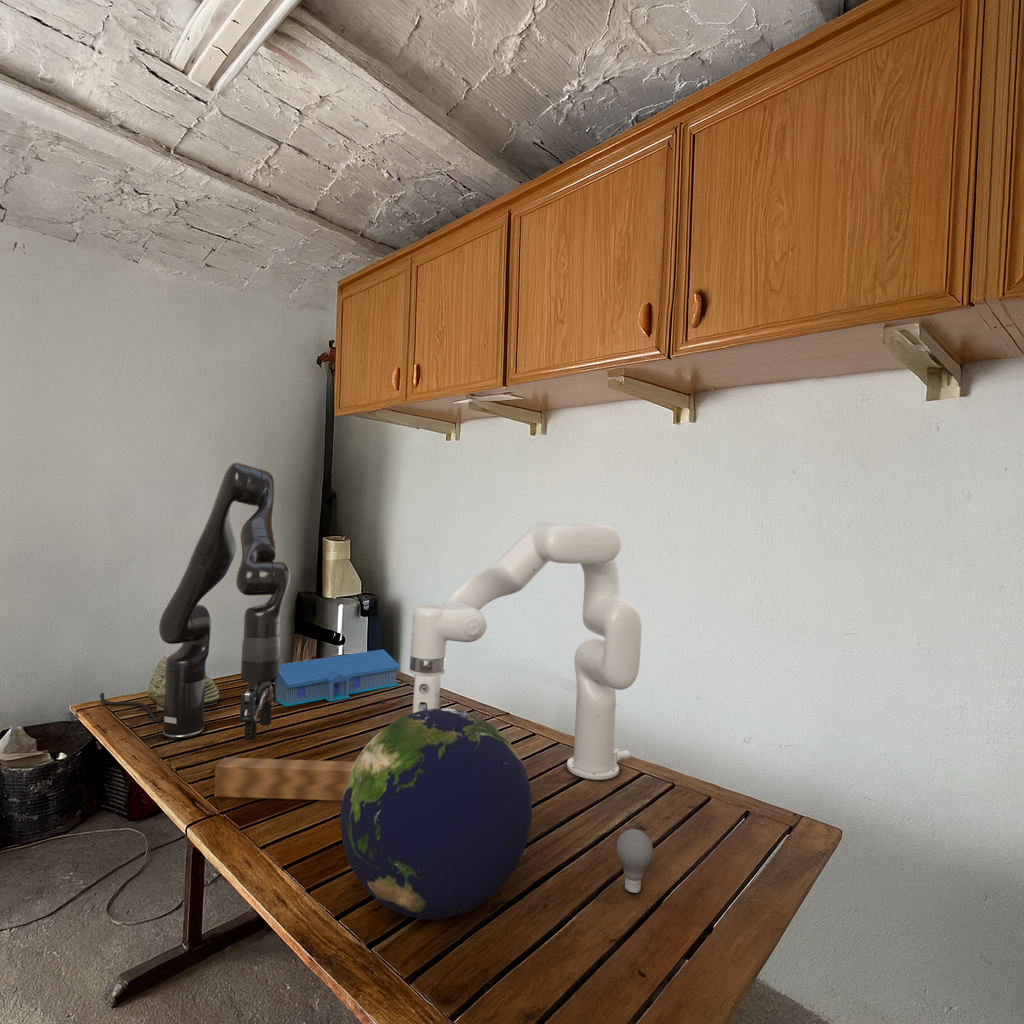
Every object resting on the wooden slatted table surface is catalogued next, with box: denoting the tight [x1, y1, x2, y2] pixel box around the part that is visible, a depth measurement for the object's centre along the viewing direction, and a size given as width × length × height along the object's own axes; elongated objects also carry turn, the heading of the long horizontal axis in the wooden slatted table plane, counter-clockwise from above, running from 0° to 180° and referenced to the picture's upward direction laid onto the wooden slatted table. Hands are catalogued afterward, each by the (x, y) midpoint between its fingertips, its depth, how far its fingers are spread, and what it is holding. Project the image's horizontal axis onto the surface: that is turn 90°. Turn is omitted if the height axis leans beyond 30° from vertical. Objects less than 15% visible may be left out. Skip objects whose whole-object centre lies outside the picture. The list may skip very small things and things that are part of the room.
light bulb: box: [615, 828, 654, 894], centre depth 106 cm, size 6×6×10 cm
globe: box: [339, 707, 533, 920], centre depth 100 cm, size 30×30×30 cm
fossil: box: [147, 654, 221, 712], centre depth 185 cm, size 9×18×15 cm, turn 132°
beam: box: [213, 757, 355, 802], centre depth 135 cm, size 51×4×6 cm, turn 92°
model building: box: [275, 649, 401, 707], centre depth 208 cm, size 39×24×10 cm, turn 132°
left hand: (258, 731), depth 134 cm, fingers open, 8 cm apart
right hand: (423, 744), depth 135 cm, fingers open, 9 cm apart
